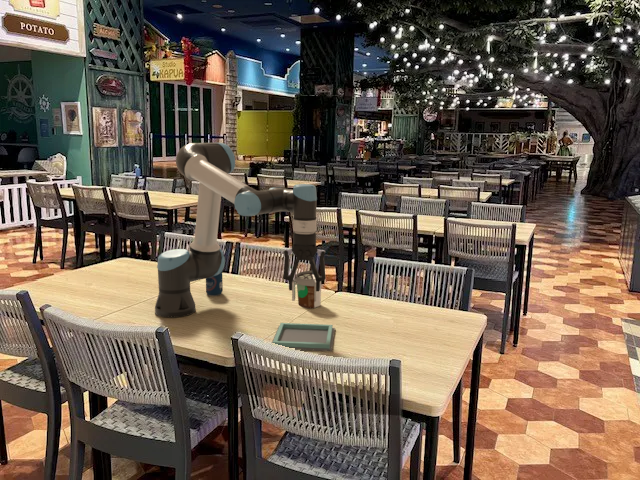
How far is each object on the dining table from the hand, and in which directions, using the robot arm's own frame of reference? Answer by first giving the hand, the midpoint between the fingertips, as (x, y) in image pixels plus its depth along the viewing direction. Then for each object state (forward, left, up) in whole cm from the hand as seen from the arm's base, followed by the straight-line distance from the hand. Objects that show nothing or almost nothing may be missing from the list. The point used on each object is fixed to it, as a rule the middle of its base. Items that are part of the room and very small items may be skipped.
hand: (304, 299), depth 189 cm
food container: (0, 0, -2) cm, 2 cm away
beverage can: (-1, +36, -14) cm, 39 cm away
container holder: (0, 0, -14) cm, 14 cm away
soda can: (-43, +47, -14) cm, 65 cm away
